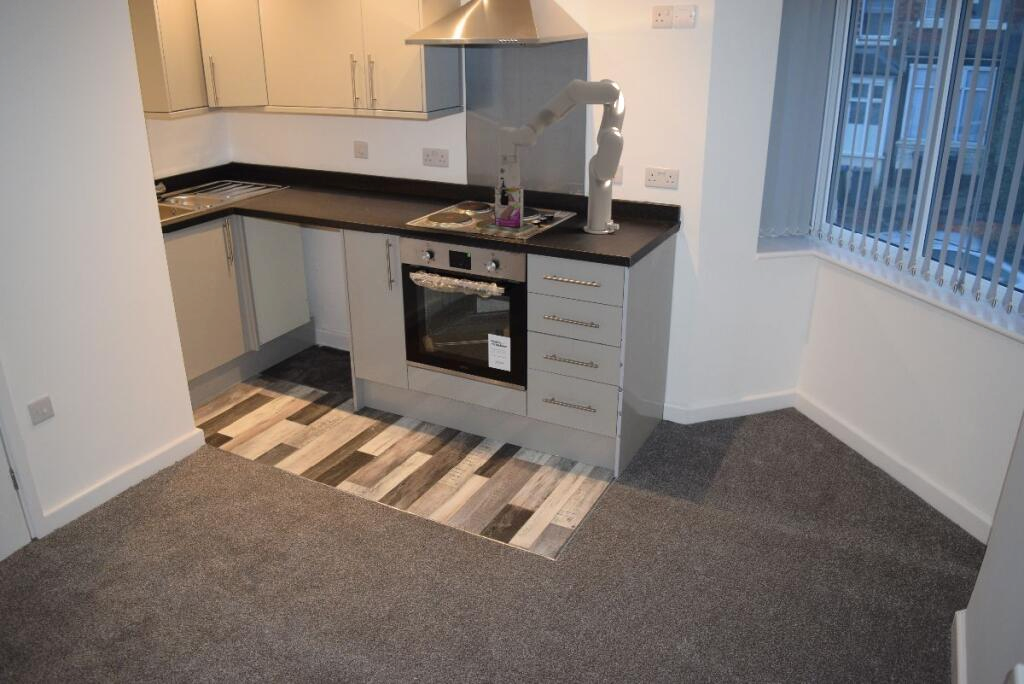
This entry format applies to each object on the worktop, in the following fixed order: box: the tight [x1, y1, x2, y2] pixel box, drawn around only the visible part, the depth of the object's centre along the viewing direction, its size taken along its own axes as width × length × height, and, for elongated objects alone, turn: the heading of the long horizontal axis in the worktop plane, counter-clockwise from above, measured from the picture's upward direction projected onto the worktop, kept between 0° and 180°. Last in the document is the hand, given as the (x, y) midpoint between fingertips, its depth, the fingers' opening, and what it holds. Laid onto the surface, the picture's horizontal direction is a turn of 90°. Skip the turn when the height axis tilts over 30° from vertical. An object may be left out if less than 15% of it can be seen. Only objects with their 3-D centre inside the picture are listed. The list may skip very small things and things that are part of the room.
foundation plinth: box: [479, 220, 539, 240], centre depth 338 cm, size 18×17×3 cm
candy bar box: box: [494, 184, 524, 228], centre depth 335 cm, size 11×5×16 cm, turn 74°
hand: (509, 203), depth 334 cm, fingers closed on candy bar box, 5 cm apart
